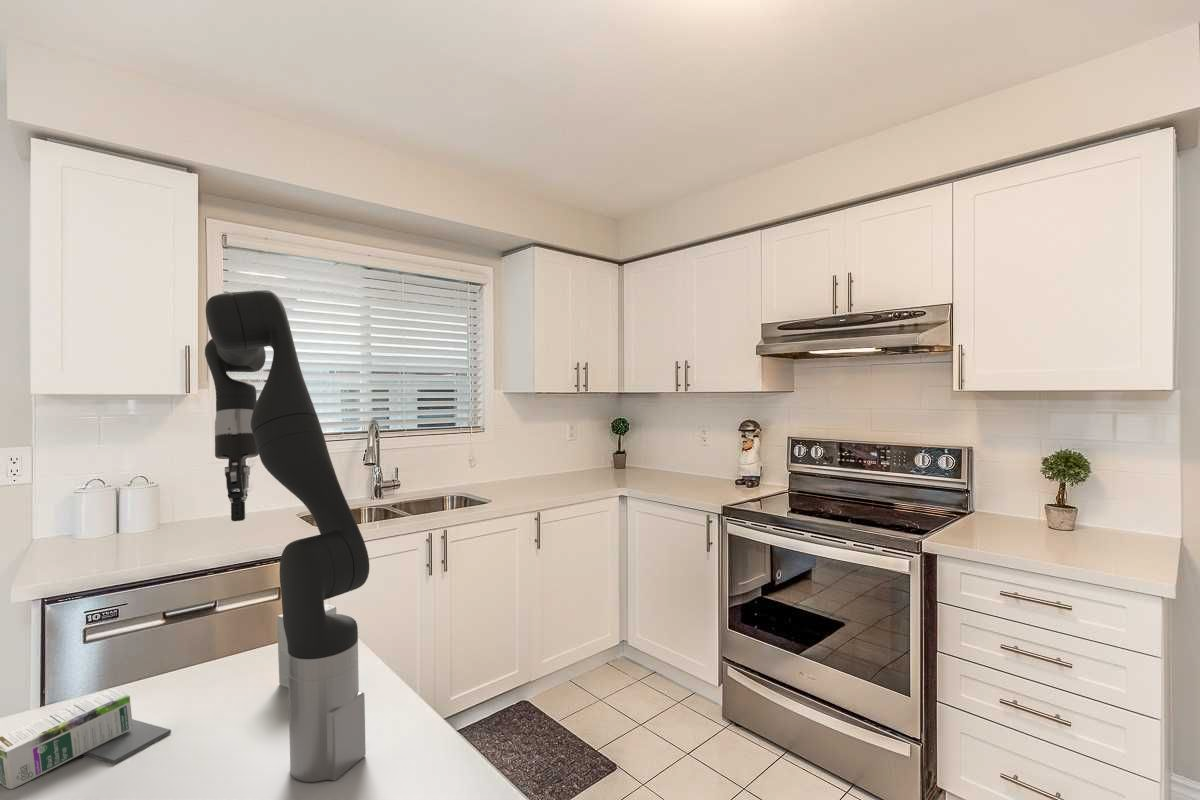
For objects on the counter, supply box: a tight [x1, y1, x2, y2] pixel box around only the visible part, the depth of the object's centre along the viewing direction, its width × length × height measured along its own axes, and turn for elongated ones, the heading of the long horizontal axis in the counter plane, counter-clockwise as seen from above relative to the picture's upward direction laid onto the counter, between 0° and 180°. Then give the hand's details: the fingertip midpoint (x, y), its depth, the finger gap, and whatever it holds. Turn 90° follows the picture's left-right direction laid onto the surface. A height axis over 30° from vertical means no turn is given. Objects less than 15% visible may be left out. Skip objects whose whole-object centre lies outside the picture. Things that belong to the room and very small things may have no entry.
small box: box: [276, 603, 337, 689], centre depth 109 cm, size 8×6×13 cm
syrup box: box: [0, 687, 134, 790], centre depth 87 cm, size 6×6×14 cm
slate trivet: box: [82, 718, 172, 765], centre depth 91 cm, size 13×8×1 cm, turn 70°
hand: (238, 520), depth 115 cm, fingers closed
